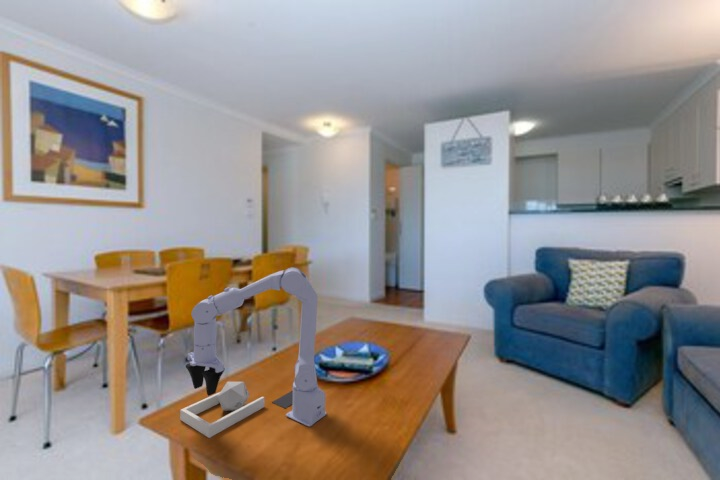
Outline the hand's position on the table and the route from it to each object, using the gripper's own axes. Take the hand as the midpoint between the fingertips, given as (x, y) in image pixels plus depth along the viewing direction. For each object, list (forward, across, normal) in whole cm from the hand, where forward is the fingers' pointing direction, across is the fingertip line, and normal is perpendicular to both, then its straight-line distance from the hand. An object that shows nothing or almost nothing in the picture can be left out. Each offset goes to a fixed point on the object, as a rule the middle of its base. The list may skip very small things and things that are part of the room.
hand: (204, 390), depth 92 cm
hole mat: (+9, +10, +24) cm, 27 cm away
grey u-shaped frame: (+9, 0, +6) cm, 11 cm away
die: (+10, 0, +10) cm, 14 cm away
